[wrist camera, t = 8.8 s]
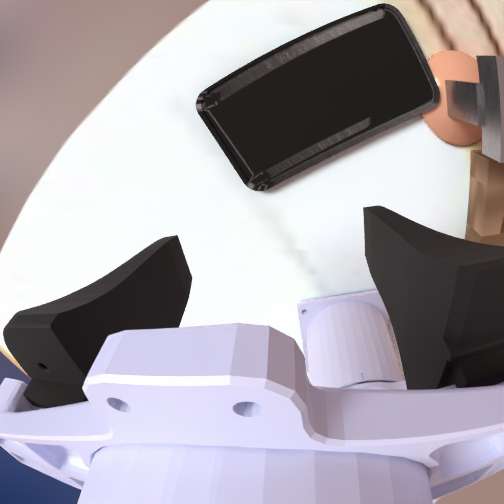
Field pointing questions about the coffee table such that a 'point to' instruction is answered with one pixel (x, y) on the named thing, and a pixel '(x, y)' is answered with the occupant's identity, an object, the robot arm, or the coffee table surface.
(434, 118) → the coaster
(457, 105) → the t key
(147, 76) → the coffee table surface
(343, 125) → the phone
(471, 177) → the socket block
